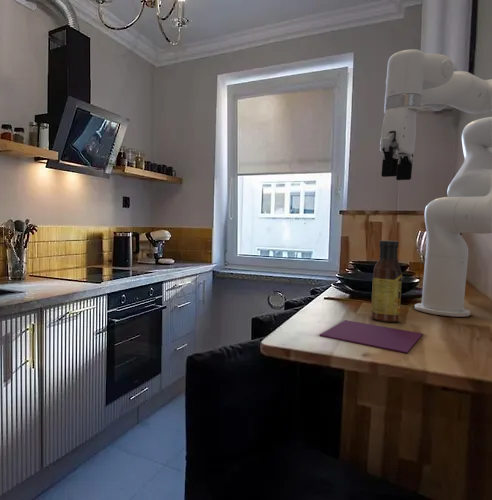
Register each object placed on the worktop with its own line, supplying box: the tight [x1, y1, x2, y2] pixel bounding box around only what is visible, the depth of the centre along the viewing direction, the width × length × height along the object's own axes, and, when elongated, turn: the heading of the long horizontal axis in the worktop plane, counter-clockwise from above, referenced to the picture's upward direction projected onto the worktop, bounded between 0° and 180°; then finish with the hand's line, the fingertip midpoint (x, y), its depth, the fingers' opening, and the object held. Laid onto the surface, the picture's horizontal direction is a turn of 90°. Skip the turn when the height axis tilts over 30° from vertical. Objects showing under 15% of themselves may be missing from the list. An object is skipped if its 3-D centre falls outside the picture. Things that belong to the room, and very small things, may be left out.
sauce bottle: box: [370, 240, 403, 323], centre depth 105 cm, size 7×6×20 cm
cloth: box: [319, 319, 424, 354], centre depth 91 cm, size 18×16×1 cm
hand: (396, 178), depth 103 cm, fingers open, 9 cm apart
